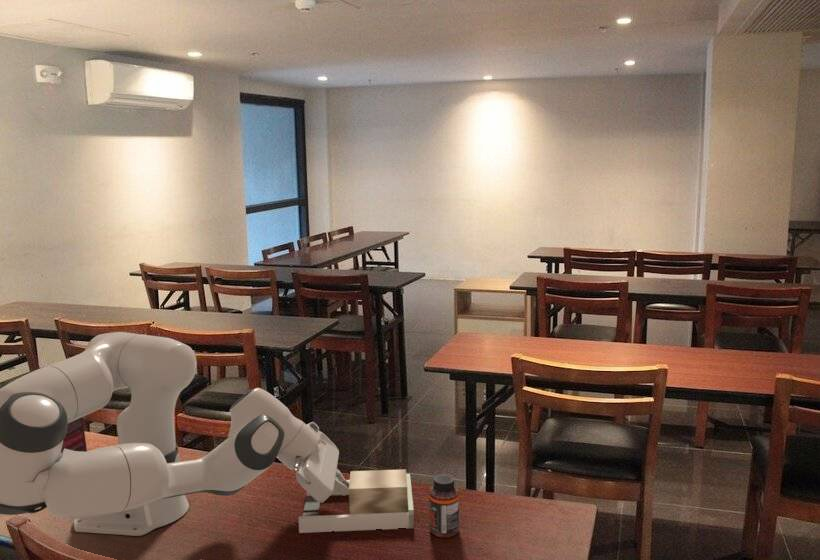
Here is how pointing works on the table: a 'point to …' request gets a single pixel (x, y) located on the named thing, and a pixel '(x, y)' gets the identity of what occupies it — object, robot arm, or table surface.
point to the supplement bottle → (444, 507)
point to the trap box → (354, 517)
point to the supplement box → (75, 437)
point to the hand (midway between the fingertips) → (347, 490)
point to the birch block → (378, 491)
